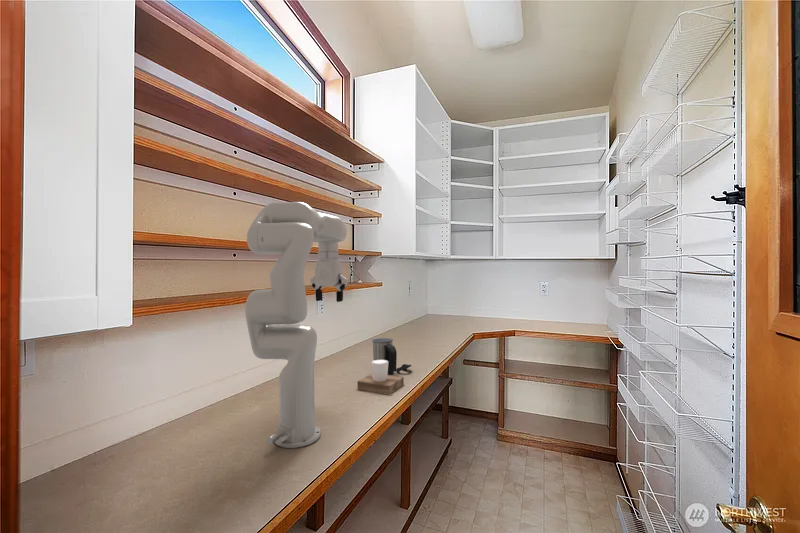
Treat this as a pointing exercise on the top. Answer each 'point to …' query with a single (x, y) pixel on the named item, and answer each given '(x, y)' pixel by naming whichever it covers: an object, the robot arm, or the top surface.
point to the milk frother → (387, 354)
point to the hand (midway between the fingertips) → (329, 301)
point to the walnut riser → (381, 384)
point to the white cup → (379, 370)
